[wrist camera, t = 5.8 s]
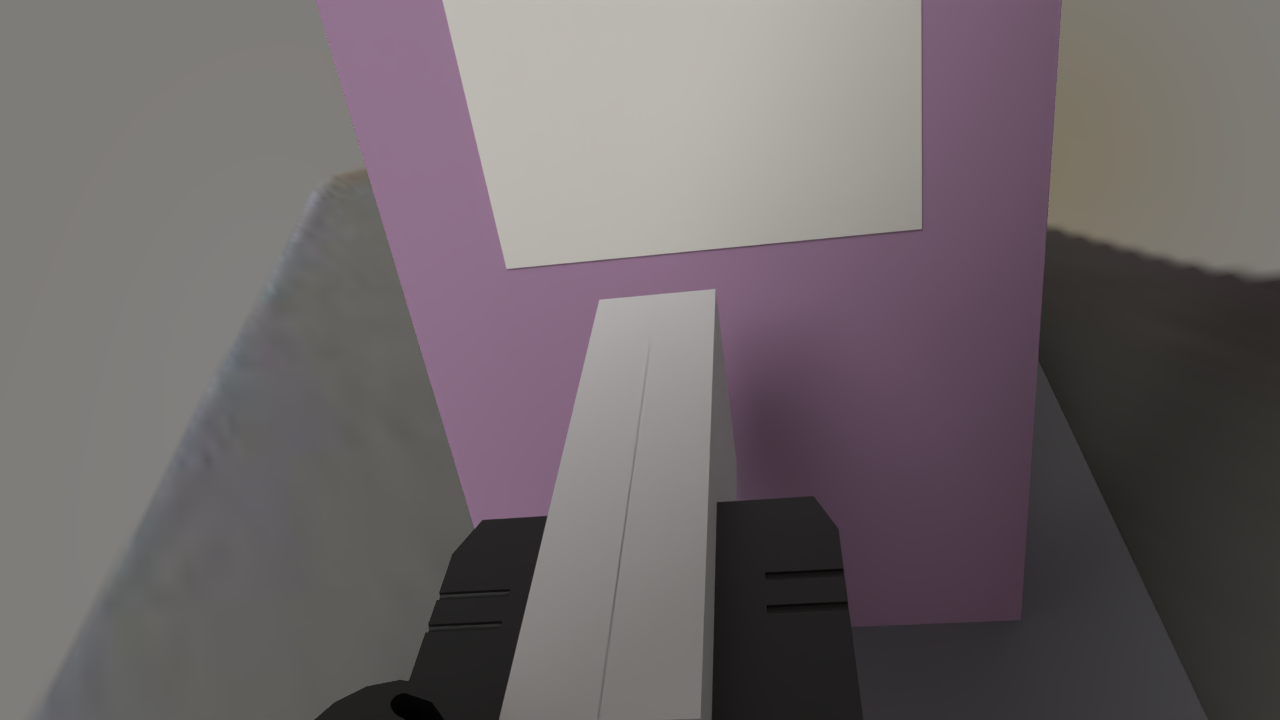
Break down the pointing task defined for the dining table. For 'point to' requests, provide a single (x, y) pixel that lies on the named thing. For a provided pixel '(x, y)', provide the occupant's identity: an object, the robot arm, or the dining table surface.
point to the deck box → (737, 245)
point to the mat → (1041, 621)
